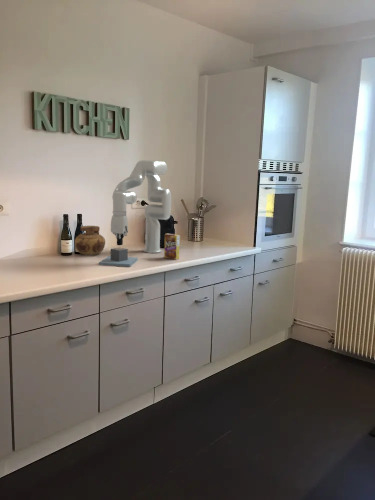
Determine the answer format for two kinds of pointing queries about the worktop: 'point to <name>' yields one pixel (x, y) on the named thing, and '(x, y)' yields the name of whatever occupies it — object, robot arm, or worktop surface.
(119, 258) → the dark grey cube
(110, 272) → the worktop surface
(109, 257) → the base
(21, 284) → the worktop surface
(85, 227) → the clay pot
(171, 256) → the candy box
